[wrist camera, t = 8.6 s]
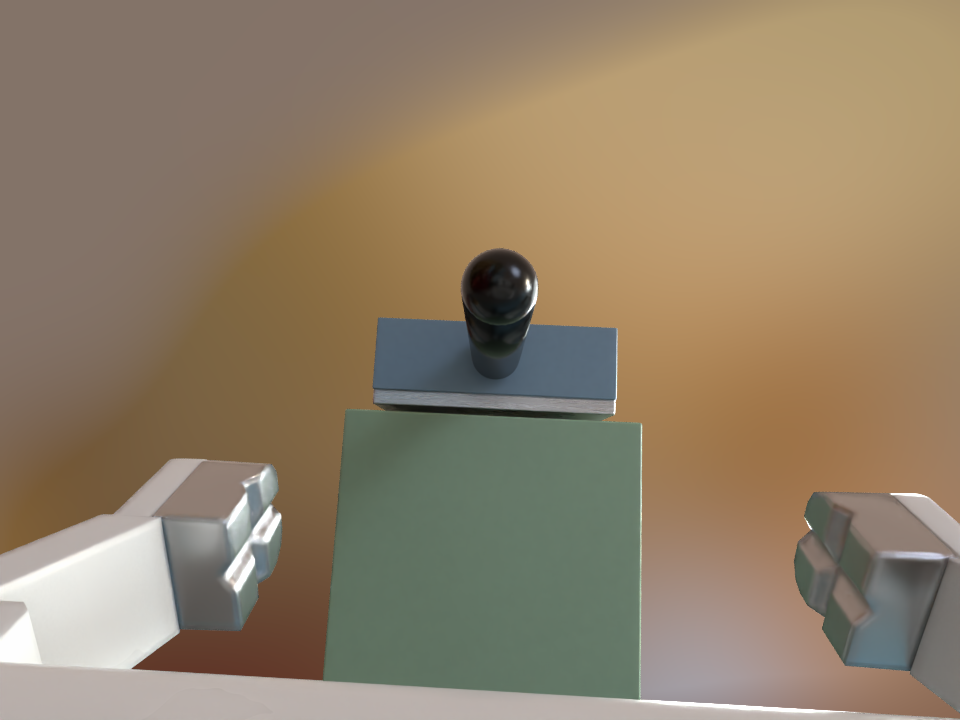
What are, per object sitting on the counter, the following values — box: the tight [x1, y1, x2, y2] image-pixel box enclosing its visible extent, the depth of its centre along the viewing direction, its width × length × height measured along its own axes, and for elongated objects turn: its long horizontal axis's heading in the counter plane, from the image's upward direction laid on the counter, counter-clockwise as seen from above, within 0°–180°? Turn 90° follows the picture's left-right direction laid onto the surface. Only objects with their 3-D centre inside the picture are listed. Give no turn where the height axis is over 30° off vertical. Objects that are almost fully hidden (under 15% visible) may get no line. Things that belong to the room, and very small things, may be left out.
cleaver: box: [373, 248, 617, 421], centre depth 27 cm, size 23×10×4 cm, turn 179°
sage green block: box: [323, 409, 642, 700], centre depth 30 cm, size 14×12×26 cm
